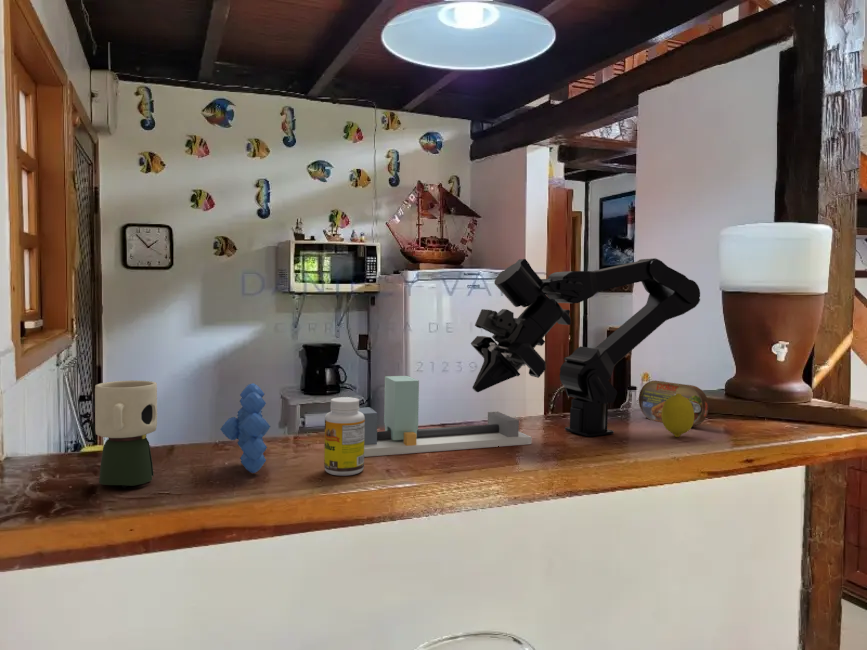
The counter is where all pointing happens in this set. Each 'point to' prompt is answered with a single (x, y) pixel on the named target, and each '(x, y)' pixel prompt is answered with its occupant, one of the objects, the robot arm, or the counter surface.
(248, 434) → the grapes
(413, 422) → the sleeve
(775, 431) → the counter surface
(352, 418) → the supplement bottle
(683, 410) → the lemon
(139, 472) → the character mug
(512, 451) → the counter surface
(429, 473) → the counter surface
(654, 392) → the tin
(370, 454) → the cord rig
